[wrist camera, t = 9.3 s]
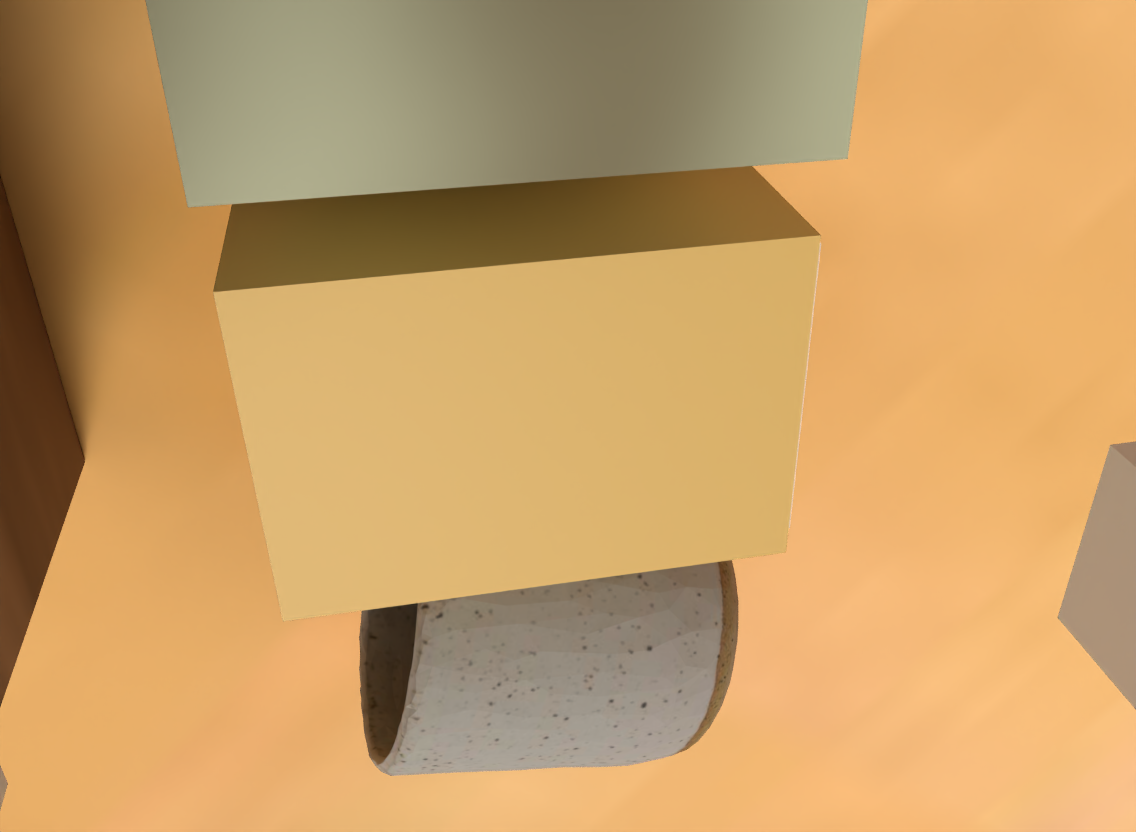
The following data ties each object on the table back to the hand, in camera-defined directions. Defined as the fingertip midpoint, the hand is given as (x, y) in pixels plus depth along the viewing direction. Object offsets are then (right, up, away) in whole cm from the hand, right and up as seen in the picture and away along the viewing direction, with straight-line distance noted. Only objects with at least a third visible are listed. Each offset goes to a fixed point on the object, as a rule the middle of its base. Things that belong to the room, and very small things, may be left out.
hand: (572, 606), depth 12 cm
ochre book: (-2, +8, +12) cm, 15 cm away
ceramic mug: (-1, 0, +17) cm, 17 cm away
